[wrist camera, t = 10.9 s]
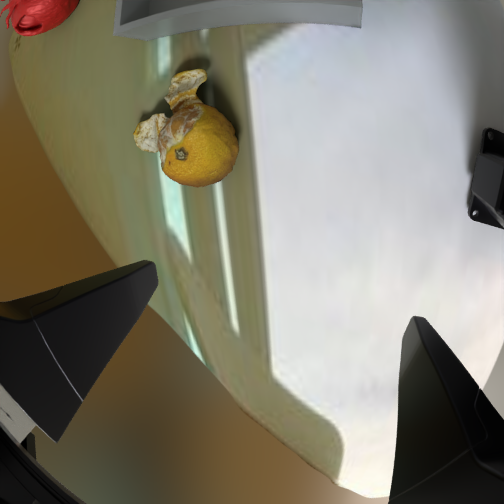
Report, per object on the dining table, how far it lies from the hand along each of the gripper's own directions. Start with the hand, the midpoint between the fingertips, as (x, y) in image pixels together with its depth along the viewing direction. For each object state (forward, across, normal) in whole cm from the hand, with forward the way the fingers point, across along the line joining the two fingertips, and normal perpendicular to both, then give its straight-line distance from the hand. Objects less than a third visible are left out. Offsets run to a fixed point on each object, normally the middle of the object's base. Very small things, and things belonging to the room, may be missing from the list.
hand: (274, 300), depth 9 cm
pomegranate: (+12, +27, -22) cm, 37 cm away
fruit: (+14, +12, -5) cm, 19 cm away
